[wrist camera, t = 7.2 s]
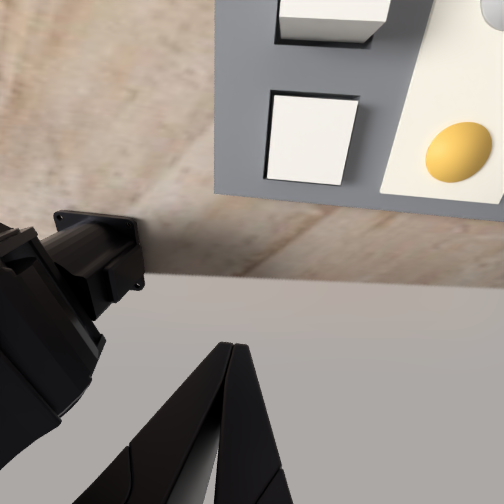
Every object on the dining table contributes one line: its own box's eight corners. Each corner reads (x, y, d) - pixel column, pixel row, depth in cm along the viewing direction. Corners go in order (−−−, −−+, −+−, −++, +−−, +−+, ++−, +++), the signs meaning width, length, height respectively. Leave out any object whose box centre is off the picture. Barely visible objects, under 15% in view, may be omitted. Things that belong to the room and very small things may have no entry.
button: (270, 168, 17) (267, 178, 14) (277, 99, 15) (274, 95, 13) (331, 173, 17) (340, 185, 14) (345, 103, 15) (358, 100, 12)
